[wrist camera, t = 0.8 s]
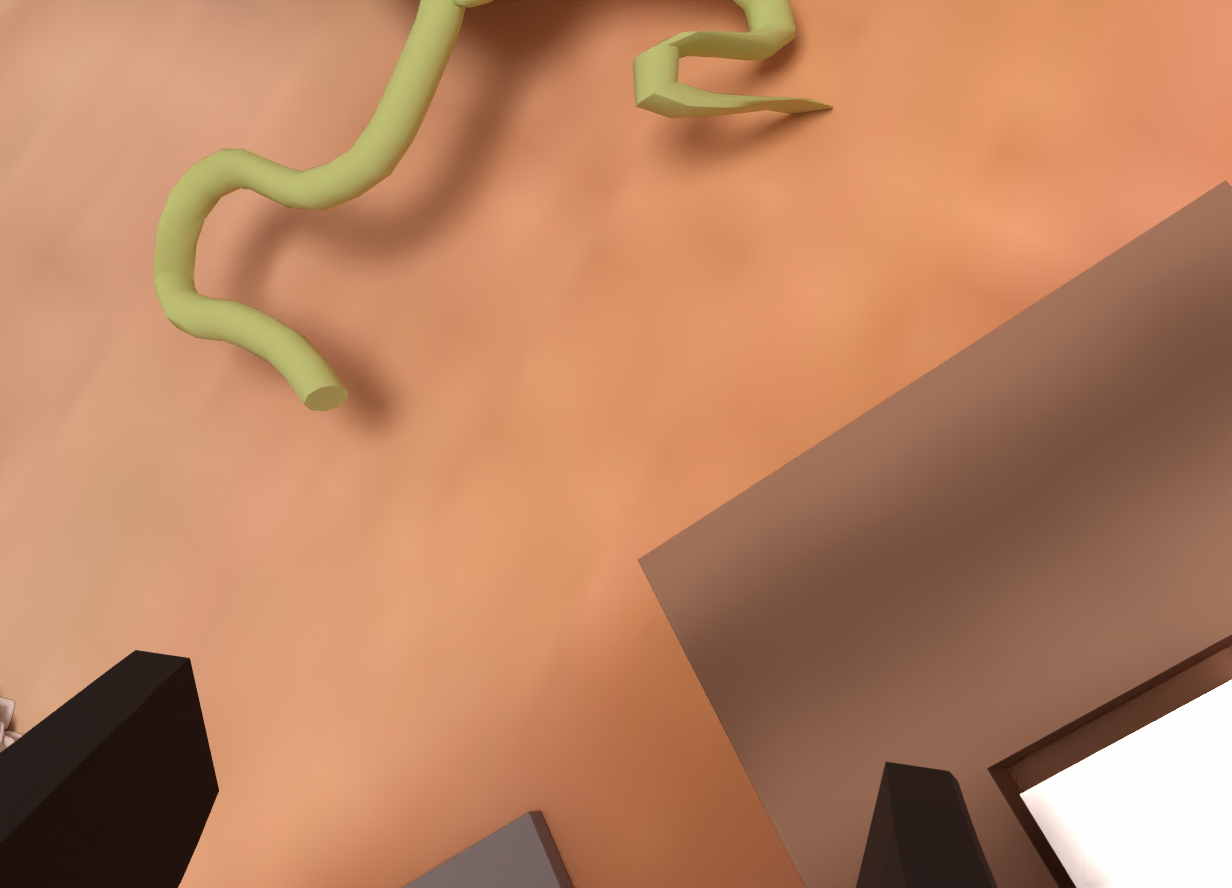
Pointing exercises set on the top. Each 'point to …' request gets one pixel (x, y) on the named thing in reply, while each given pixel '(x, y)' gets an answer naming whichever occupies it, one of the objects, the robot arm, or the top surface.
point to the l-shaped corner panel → (7, 723)
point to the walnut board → (979, 557)
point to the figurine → (383, 153)
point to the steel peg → (1148, 804)
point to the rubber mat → (504, 860)
